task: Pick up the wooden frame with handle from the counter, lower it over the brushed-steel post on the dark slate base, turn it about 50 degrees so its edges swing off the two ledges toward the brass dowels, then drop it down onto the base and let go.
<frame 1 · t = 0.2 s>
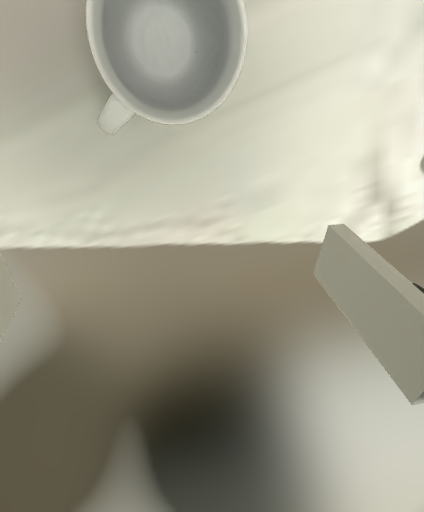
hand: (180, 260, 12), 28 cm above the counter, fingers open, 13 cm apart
mug: (155, 52, 31), on the counter
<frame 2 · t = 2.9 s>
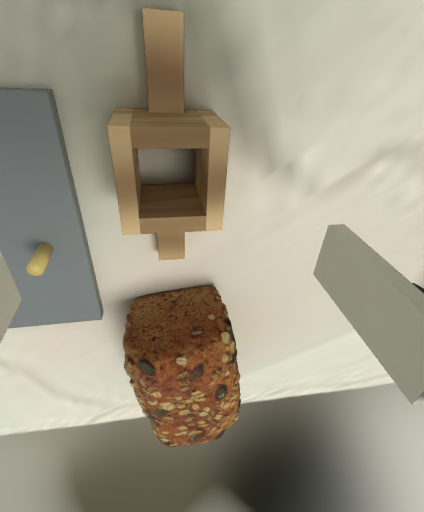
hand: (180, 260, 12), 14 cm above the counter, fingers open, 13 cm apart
wooden frame with handle: (167, 157, 24), on the counter
bread: (184, 339, 37), on the counter
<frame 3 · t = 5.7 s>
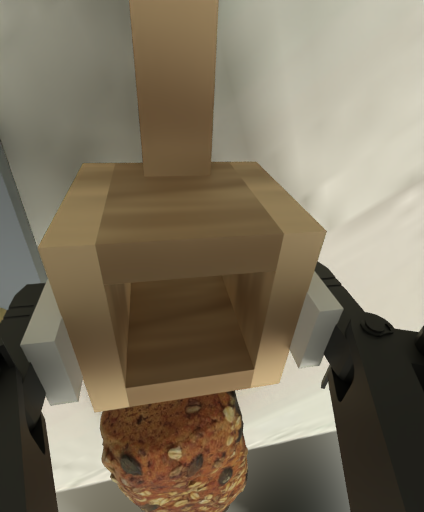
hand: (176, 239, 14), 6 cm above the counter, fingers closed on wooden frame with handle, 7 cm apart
wooden frame with handle: (176, 236, 14), point 6 cm above the counter, touching gripper
bread: (178, 393, 32), on the counter
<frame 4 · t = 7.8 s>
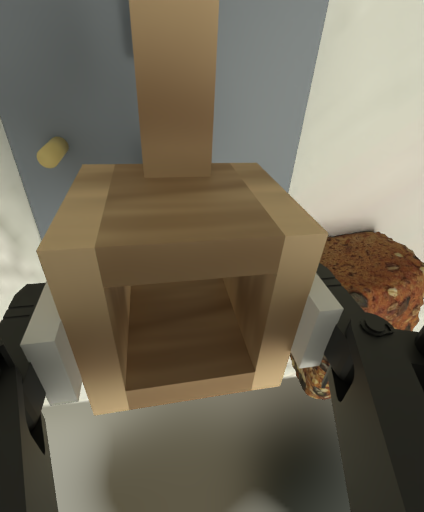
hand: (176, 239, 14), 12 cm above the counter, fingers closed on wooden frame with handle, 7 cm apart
wooden frame with handle: (176, 237, 14), point 12 cm above the counter, touching gripper
bread: (324, 293, 37), on the counter
post base: (166, 158, 23), on the counter
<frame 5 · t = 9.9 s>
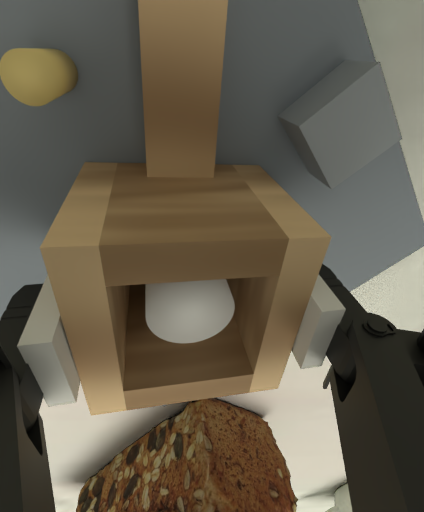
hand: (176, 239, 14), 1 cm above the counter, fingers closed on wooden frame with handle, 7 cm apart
wooden frame with handle: (176, 238, 14), point 1 cm above the counter, touching gripper
bread: (172, 446, 29), on the counter
post base: (175, 225, 15), on the counter
mug: (346, 485, 49), on the counter
when the fingers open (1 cm above the counter, at t = 10.3 s): wooden frame with handle stays where it is, resting on post base.
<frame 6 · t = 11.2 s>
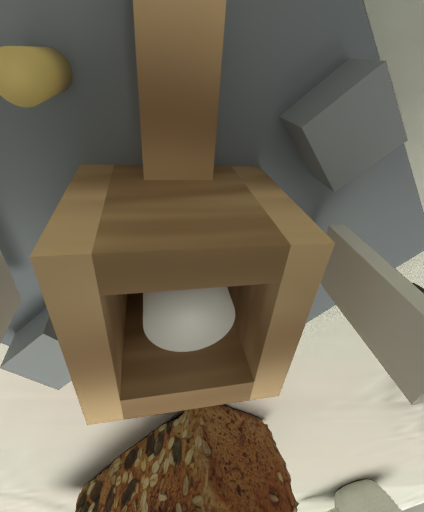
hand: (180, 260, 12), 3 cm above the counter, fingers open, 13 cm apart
wooden frame with handle: (175, 241, 13), point 1 cm above the counter, touching post base
bread: (171, 449, 29), on the counter
post base: (174, 228, 14), on the counter
mug: (346, 486, 49), on the counter
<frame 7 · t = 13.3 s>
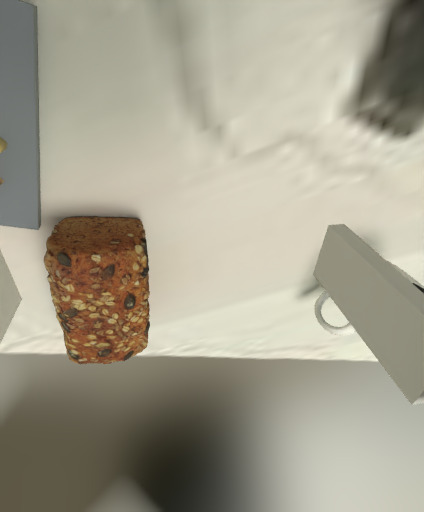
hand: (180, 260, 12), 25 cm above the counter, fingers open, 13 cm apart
bread: (109, 272, 41), on the counter
mug: (340, 270, 52), on the counter
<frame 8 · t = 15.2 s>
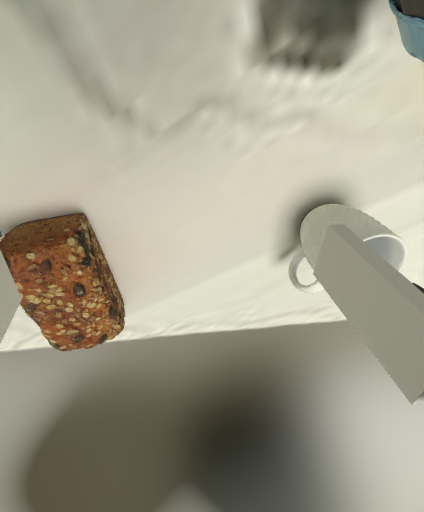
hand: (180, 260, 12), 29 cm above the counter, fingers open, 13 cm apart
bread: (77, 267, 45), on the counter
mug: (314, 226, 49), on the counter
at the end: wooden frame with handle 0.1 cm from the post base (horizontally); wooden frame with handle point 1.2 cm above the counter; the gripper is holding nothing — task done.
